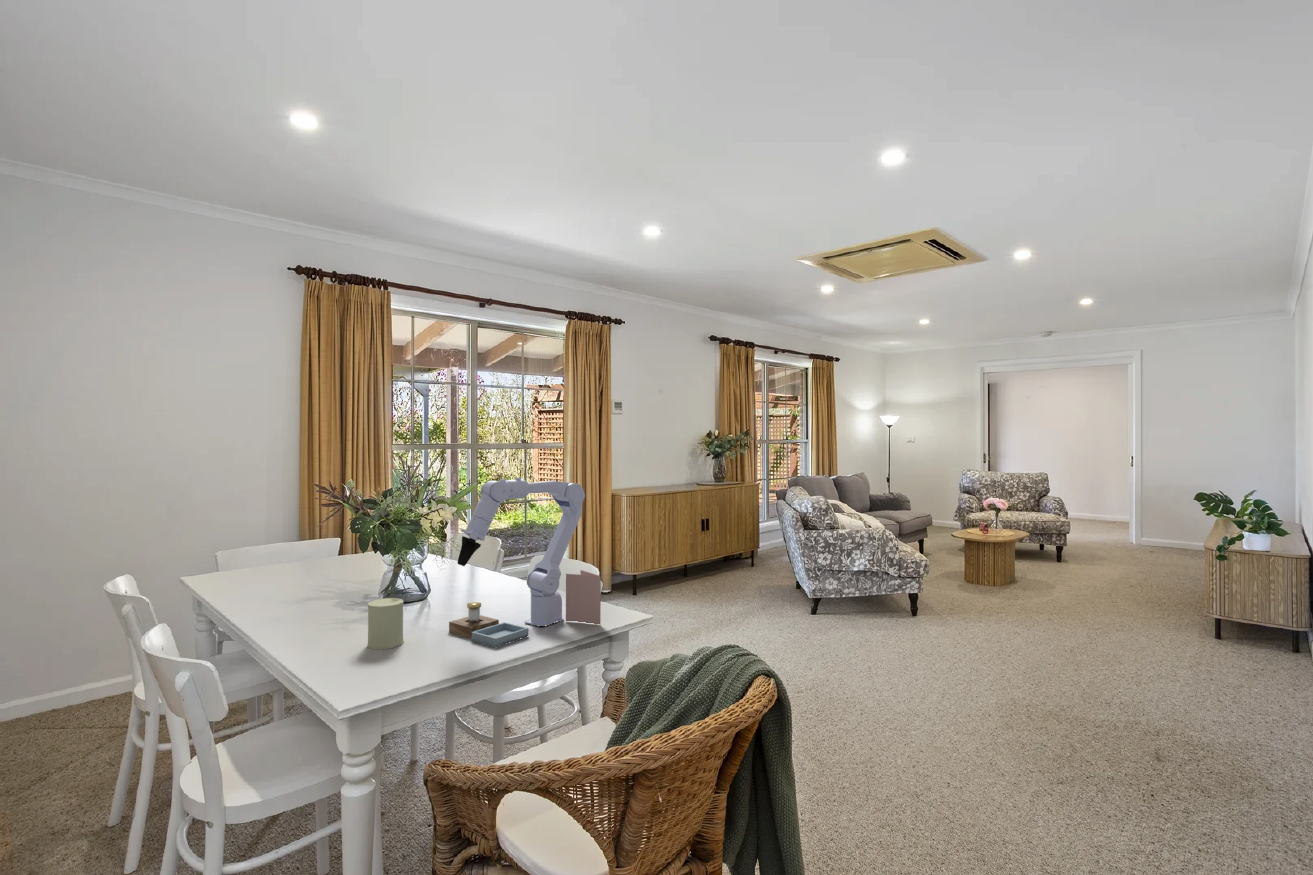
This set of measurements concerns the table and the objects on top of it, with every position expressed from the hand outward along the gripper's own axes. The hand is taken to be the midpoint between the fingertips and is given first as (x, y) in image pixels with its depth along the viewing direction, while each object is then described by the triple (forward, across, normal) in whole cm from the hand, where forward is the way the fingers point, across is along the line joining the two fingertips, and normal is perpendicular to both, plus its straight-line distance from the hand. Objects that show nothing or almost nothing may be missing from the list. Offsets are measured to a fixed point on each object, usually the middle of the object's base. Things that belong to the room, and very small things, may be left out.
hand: (460, 564), depth 182 cm
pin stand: (+16, -12, +11) cm, 23 cm away
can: (+27, -7, -10) cm, 29 cm away
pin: (+16, -12, +11) cm, 23 cm away
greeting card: (+3, -12, +41) cm, 42 cm away
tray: (+15, -3, +18) cm, 24 cm away
